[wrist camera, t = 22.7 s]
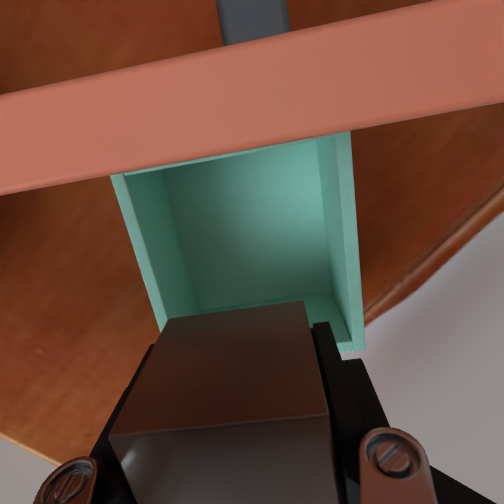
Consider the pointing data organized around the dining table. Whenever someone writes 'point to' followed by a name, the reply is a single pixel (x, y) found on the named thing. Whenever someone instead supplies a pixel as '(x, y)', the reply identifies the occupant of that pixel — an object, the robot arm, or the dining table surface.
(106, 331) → the dining table surface
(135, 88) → the lunchbox lid
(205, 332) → the block
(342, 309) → the lunchbox
